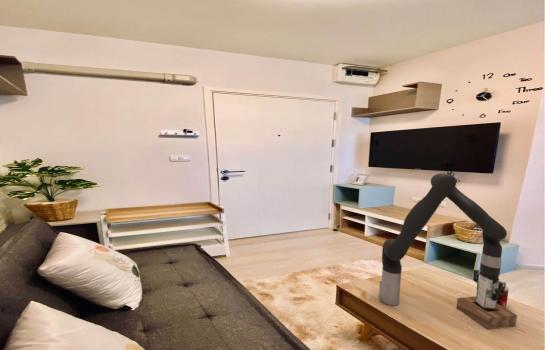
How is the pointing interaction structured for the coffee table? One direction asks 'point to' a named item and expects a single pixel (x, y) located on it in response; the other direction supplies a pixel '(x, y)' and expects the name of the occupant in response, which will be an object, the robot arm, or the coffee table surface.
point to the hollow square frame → (486, 314)
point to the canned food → (503, 298)
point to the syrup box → (485, 293)
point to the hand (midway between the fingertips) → (486, 296)
